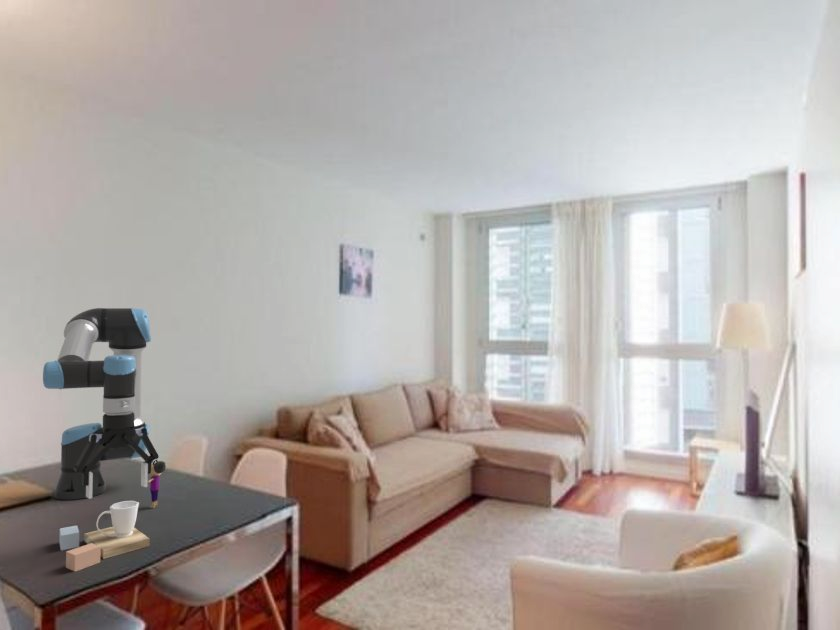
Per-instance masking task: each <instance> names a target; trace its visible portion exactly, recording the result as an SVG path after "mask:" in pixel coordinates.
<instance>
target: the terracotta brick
mask: <svg viewBox="0 0 840 630" xmlns="http://www.w3.org/2000/svg"><path fill="white" fill-rule="evenodd" d="M100 553H101V546H98V545H95V544H93V543H90V544H87V543H86V544H85V545H82V546H79V547H76V548H71V549H68V550H67V551H65V569H68V570H70V571H72V572H77V571H81V570H82V569H86V568H89V567H91V566H93V565H96V564H99V563H101V556H100Z"/></svg>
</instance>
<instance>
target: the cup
mask: <svg viewBox="0 0 840 630" xmlns="http://www.w3.org/2000/svg"><path fill="white" fill-rule="evenodd" d="M139 506H140V502H138V501H135V500H124V501H123V500H122V501H120V502H114V503H113V504H112V505H110V506H109V510H105V511H102V512H101V513H99V515H98V516H97V519H96V528H97V530H98V531H99V532H101V533H102V534H104V535H107V536H110V537H117V538H122V537H127V536H130V535H132V534H133V531H132V530H133V529H134V528H135V525H136V522H137V517H138V516H137V515H138V511H139ZM104 514H110V519H111V524H112V527H113V529H114V532H115V533H116V534H115V535H111V534H107V533H105V532H103V531H101V529H100V528H99V520H100V518H101V517H102V516H103V515H104Z"/></svg>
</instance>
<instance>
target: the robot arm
mask: <svg viewBox="0 0 840 630" xmlns="http://www.w3.org/2000/svg"><path fill="white" fill-rule="evenodd" d="M149 321H150V320H149V315H148V312H147V311H146V310H145V309H141V308H133V307H129V308H128V307H127V308H126V307H125V308H124V307H122V308H120V307H119V308H111V307H110V308H109V307H106V308H103V307H95V308H90V309H88V310H84V311H82V312H80V313H78V314H76V315H75V316H73V317H72V318H71V319H69V321H68V322H67V323H66V325H65V327H64V330H63V336H64V341H63V343H62V345H61V348H60V351H59V355H58V357H57V360H53V361H52V360H51V361H46V363H44V366H43V368H42V369H43V371H42V382H43V387H44V388H46V389H48V390H49V389H51V390H52V389H53V390H57V389H58V390H67V389H85V388H86V389H87V388H103V395H102V413H103V414H102V424H101V423H100V422H92V423H84V424H81V425H75V426H72V427H69V428H67V429H65V430H64V431H63V432H62V434H61V443H60V446H61V449H60V451H61V452H60V453H61V456H60V457H61V458H60V474H59V478H58V480H57V483H56V484H55V488H54V489H53V490H54V493H53V495H54V496H53V497H54V498H55V499H56V500H64V501H65V500H66V501H67V500H68V501H70V500H81V499H82V500H83V499H88V500H89V499H90V500H91V499H93V497H95V496H99V495H101V494H102V493H104V492H106V490H107V487H106V486H107V485H106V480H105V477H104V475H103V472H102V469H101V462H104V461H106V462H107V461H115V460H117V461H118V460H128V459H129V460H131V459H136V458H141V459H143V460H144V461H141V466H140V467H141V468H140V486H141V487H143V488H148V484H149V483H148V481H149V479H148V478H149V477H148V476H149V474H150V473H151V465H152V464H153V462H154V461H155V460H158V459H159V454H158V452H157V450H156V449H155V446H154V445H153V443H152V441H151V440H150V438H149V432H150V425H149V424H148V423H146V419H145V418H144V417H142V416H141V405H142V404H141V403H142V402H141V401H142V400H141V398H142V397H141V396H142V395H141V394H142V392H141V391H142V352H143V351H144V350H145V349H146V348H147V343H150V342H151V341H152V340H151V339H152V337H151V336H152V335H151V329H150V322H149ZM95 343H108V349H110V350H111V351H112V352H113V355H107V356H105V357H104V360H90V356H91V352H92V347H93V344H95ZM146 450H147V453H148V454H149V455H148V454H147V453H146ZM150 475H151V474H150Z"/></svg>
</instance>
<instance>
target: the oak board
mask: <svg viewBox="0 0 840 630" xmlns="http://www.w3.org/2000/svg"><path fill="white" fill-rule="evenodd" d="M100 530H101V531H103V532H105V533H107V534H111V535H115V534H116V533H115V532H114V529H113V526H110V527H106V528H101V529H100ZM132 531H133V534H132V535H130V536H127V537H122V538H117V537H110V536H107V535H104V534H102V533H101V532H99V531H98V529H97V530H94V531H93V530H92V531H90V532H86V533H84V534H83V536H84V537H83V541H84V542H85V543H86V545H87V544H90V543H93V544H95V545H98V546H101V553H100V558H102V559H103V560H105V559H108V558H109V559H110V558H112V557H115V556H120V555H123V554H126V553H130V552H133V551H137V550H140V549H144V548H148V547H150V543H151V541H150V540H151V539H150V537H148V535H146V534H144V533H143V532H141V531H140V530H138V529H137V528H136V527H134V529H133V530H132Z"/></svg>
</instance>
